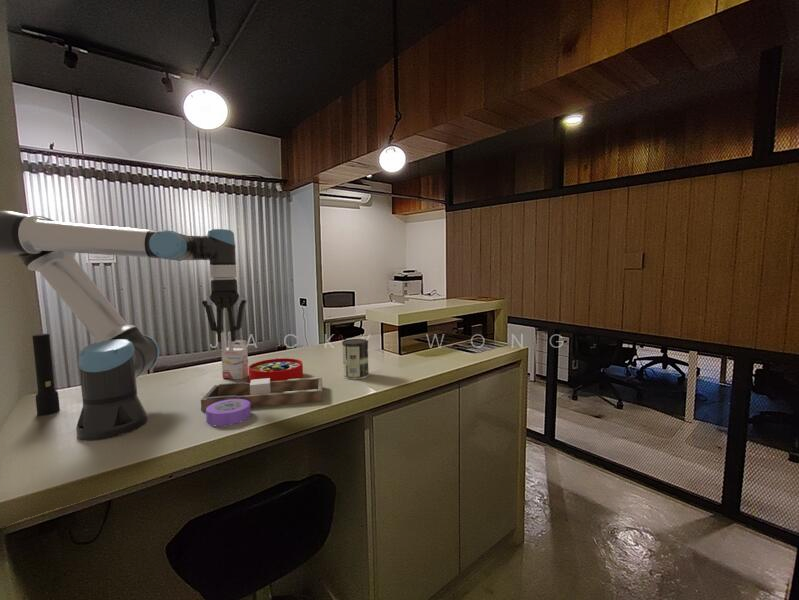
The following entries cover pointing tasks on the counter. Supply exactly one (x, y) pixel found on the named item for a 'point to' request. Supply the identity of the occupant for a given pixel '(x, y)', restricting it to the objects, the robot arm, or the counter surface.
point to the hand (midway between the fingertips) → (227, 351)
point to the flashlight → (44, 376)
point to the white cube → (260, 386)
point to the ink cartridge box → (235, 361)
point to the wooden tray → (287, 397)
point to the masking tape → (228, 412)
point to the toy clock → (276, 369)
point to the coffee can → (355, 359)
